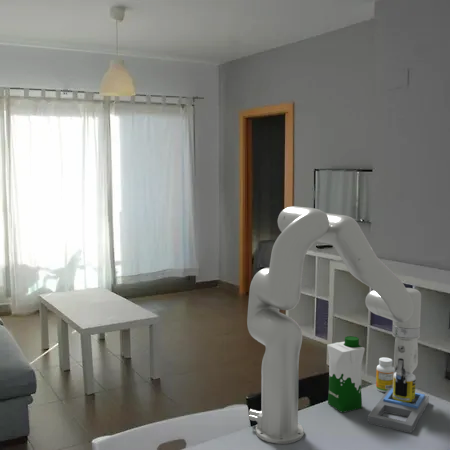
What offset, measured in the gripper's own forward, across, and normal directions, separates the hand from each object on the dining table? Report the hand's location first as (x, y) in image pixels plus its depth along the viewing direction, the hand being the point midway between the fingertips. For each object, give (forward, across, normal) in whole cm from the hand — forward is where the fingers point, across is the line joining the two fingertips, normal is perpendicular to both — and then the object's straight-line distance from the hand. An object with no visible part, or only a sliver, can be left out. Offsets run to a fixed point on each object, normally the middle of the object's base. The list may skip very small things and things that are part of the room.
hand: (403, 390), depth 162 cm
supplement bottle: (+5, +9, +8) cm, 13 cm away
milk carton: (+5, -9, +15) cm, 18 cm away
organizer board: (+5, -5, 0) cm, 7 cm away
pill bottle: (+4, 0, 0) cm, 4 cm away
